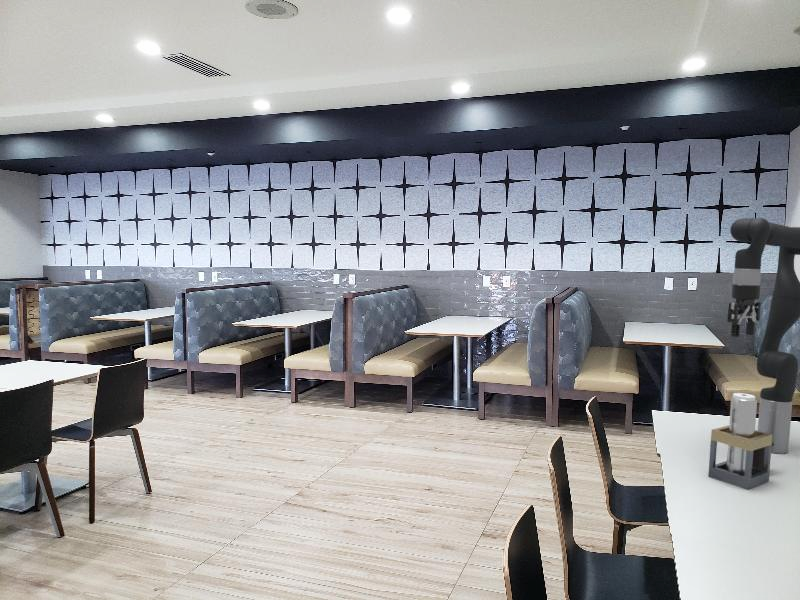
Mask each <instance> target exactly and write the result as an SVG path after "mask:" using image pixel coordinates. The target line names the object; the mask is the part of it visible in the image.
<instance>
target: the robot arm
mask: <svg viewBox="0 0 800 600" xmlns="http://www.w3.org/2000/svg"><path fill="white" fill-rule="evenodd" d="M730 235H731V237H732V238H733V239H734V240H735V241H738V242H740V243H750V244H749V246H748V247H746V248H742V249H738V250H737V251H736V253H735V255H734V256H735V257H734V258H735V259H734V270H733V274H732V285H731V298H732V299H735V302H729V303H728V310H727V319H726V321H727V323H730V324H731V330H730V331H731V332H730V334H731V337H735V338H738V337H740V332H741V322H742V321H743V320H746V328H745V335H748V336H755V329H756V328H755V327H756V323H757V322H759V321H760V318H761V302H760V301H755V300H759V299H760V294H761V280H762V275H761V273H762V272H761V271H762V270H761V269H762V257H763V253H764V250H765V248H766V246H769V247H770V246H771V247H778V248H779V250H778V257H777V258H778V260H777V270H776V275H775V282H774V286H773V290H772V291H773V292H772V295H771V300H770V304H769V305H770V306H769V312H768V313H769V314H768V317H767V322H766V327H765V331H764V335H763V339H762V341H761V345H760V349H759V352H758V355H757V359H756V370H757V374H759V375H760V376H762V377H765V378H770V379H775V384H774V386H772V387H771V386H770V387H769V386H768V387H764V388H762V389H760V392H759V393H760V394H759V397H760V398H759V406H758V407H759V409H758V418H757V419H758V422H757V423H758V425H757V431H761V432H764V433H768V434H772V442H773V443H774V446H772V450H771V454H772V453H774V454H787V453H788V452H789V445H790V436H791V435H790V434H791V425H792V423H791V421H792V408H793V399H794V394H795V391H796V387H797V379H798V378H797V377H798V373H799V361H798V358H797V356H796V355H795V354H793V353H790V352H784V351H779V348H780V344H781V342H782V339H783V337H784V336H785V335H786V333H787V332H788V331H789V330H790V329H791V328H792V327H793V326H794V325H795V324H796V323H797V321H799V319H800V280H799V278H798V276H797V273H796V270H795V257H796V256H800V226H799V227H798V226H787V225H783V224H778V223H775V222H769V221H768V220H767V219H766V218H763V217H752V218H751V217H750V218H739V219H738V218H737V219H736V220H735V221H734V222H733V223H732V224H731V226H730Z"/></svg>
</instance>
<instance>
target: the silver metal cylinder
mask: <svg viewBox="0 0 800 600" xmlns="http://www.w3.org/2000/svg"><path fill="white" fill-rule="evenodd" d="M730 398H731V399H730V412H729V425H728V426H729V433H730V434H734V435H737V436H741V437H745V438H748V439H750V438H754V436H755V430H756V422H757V421H756V420H757V411H758V410H757V409H758V408H757V407H758V399H757V398H756V395H753V394H748V393H742V392H734V393H733V394H732V396H731V397H730ZM726 453H727V454H726V461H727V466H726V471H729V472H732V473H736V474H739V475H742V476H744V475H745V461H746V450H745V449H741V448H738V447H734V446H731V445H727V452H726ZM752 463H753V458H752ZM751 475H752V471H751Z"/></svg>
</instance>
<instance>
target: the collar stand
mask: <svg viewBox="0 0 800 600" xmlns="http://www.w3.org/2000/svg"><path fill="white" fill-rule="evenodd" d="M718 443H720V444H724V445H727V446H728V445H731V446H734V447H738V448H741V449H745V450H746V461H745V475H744V476H742V475H739V474H736V473H732V472H729V471H726V466H727V460H726V461H723V462H719V463H716V462H717V447H718ZM709 447H710V449H709V461H708V462H709V463H708V464H709V465H708V477H709V478H713V479H715V480H718V481H721V482H724V483H727V484H729V483H730V485H733V486H736V487H739V488H741V489H744V490H751V489H754V488H757V487H758V486H761V485H764V484H767V483H769V482H770V471H771V459H772V452H771V447H772V434H768V433H764V432H761V431H758V429H755V436H754V438H750V439H748V438H745V437H741V436H737V435H734V434H730V433H729V425H725V426H721V427H718V428H713V429H711V432H710V446H709ZM763 447H765V453H764V466H763V470H762V469H759V468H755V467H752V458H753V450H756V449H759V448H763ZM751 471H752V475H751Z"/></svg>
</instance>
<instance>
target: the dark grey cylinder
mask: <svg viewBox="0 0 800 600" xmlns="http://www.w3.org/2000/svg"><path fill="white" fill-rule="evenodd" d="M772 446H774V443H773V442H772ZM771 450H772V447H771ZM764 453H765V447H763V448H759V449H756V450H753V463H752V467H755V468H759V469H762V470H763V466H764Z"/></svg>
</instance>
